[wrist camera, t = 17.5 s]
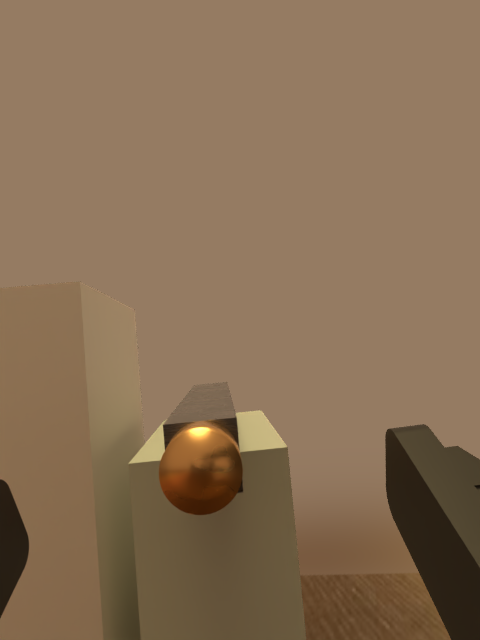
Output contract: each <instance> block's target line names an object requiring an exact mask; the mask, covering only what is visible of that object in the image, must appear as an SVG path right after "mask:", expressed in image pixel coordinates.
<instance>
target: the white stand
mask: <svg viewBox="0 0 480 640" xmlns="http://www.w3.org/2000/svg"><path fill="white" fill-rule="evenodd" d="M144 444H145V441H144V427H143V414H142V401H141V387H140V373H139V359H138V346H137V332H136V319H135V310H134V309H132V308H131V307H129V306H127V305H125V304H123V303H121V302H119V301H117V300H115V299H113V298H111V297H109V296H107V295H105V294H103V293H102V292H100V291H98V290H96V289H94V288H92V287H90V286H88V285H86V284H84V283H82V282H67V283H57V284H56V283H55V284H44V285H31V286H19V287H6V288H0V479H1V480H4V481H5V482H6V483H7V484H8V486H9V488H10V490H11V493H12V495H13V498H14V500H15V503H16V505H17V508H18V510H19V513H20V516H21V518H22V521H23V523H24V526H25V528H26V531H27V534H28V538H29V554H28V559H27V563H26V566H25V568H24V570H23V572H22V574H21V577H20V579H19V581H18V583H17V585H16V587H15V589H14V591H13V593H12V595H11V597H10V599H9V601H8V603H7V605H6V608H5V610H4V612H3V614H2V616H1V618H0V640H141V635H140V621H139V606H138V592H137V578H136V564H135V550H134V536H133V522H132V508H131V494H130V480H129V465H128V463H129V462H130V461H131V460H132V459H133V458H134V456H135V455H136V454H137V453H138V452H139V450H140V449H141V448H142V447H143V446H144Z"/></svg>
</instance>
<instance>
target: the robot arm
mask: <svg viewBox="0 0 480 640" xmlns="http://www.w3.org/2000/svg"><path fill="white" fill-rule="evenodd" d="M386 492H387V498H388V503H389V506H390V510H391V513H392V516H393V519H394V521H395V523H396V525H397V527H398V529H399V531H400V534H401V536H402V538H403V540H404V542H405V544H406V546H407V548H408V550H409V552H410V554H411V556H412V559H413V561H414V562H415V565H416V567H417V569H418V571H419V573H420V575H421V577H422V579H423V581H424V583H425V586H426V588H427V590H428V592H429V594H430V596H431V598H432V600H433V602H434V604H435V606H436V608H437V610H438V613H439V615H440V617H441V619H442V621H443V623H444V625H445V627H446V629H447V631H448V633H449V635H450V638H451V640H480V460H479V459H478V458H476V457H475V456H473V455H471V454H470V453H468V452H466V451H465V450H463V449H462V448H460V447H458V446H454V447H447V448H444V446H443V445H442V444H441V442H440V441H439V440H438V439H437V437H436V436H435V435H434V433H433V432H432V431H431V430H430V429H429V427H428V426H426V425H424V424H423V425H415V426H407V427H399V428H393V429H388V430H387V432H386ZM28 554H29V538H28V534H27V531H26V528H25V526H24V523H23V521H22V518H21V516H20V513H19V510H18V508H17V505H16V503H15V500H14V498H13V495H12V493H11V490H10V488H9V486H8V484H7V483H6V482H5V481H4V480H1V479H0V618H1V616H2V614H3V612H4V610H5V608H6V605H7V603H8V601H9V599H10V597H11V595H12V593H13V591H14V589H15V587H16V585H17V583H18V581H19V579H20V577H21V574H22V572H23V570H24V568H25V566H26V563H27V559H28Z"/></svg>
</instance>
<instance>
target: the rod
mask: <svg viewBox="0 0 480 640" xmlns="http://www.w3.org/2000/svg"><path fill="white" fill-rule="evenodd" d="M163 433H164V446H165V452H164V453H163V456H162V458H161V461H160V465H159V481H160V485H161V488H162V491H163V493H164V495H165V496H166V498H167V499H168V500H169V502H170V503H171V504H172V505H173V506H175V507H176V508H178V509H179V510H181V511H183V512H185V513H188V514H192V515H207V514H212V513H215V512H217V511H219V510H221V509H223V508H224V507H226V506H227V505H228V504H229V503H230V502H231V501H232V500H233V499H234V497H235V496H236V494H237V493H243V482H242V476H243V467H242V461H241V456H240V449H239V438H238V427H237V417H236V413H235V409H234V406H233V402H232V398H231V395H230V391H229V388H228V384H227V382H224V383H213V384H203V385H194V386H193V388H192V389H191V390H190V391H189V393H188V394H187V395H186V396H185V398H184V399H183V400H182V401H181V403H180V404H179V405H178V406H177V408H176V409H175V410H174V412H173V413H172V414H171V415H170V417H169V418H168V419H167V420H166V421H165V423H164V424H163Z"/></svg>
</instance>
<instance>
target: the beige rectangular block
mask: <svg viewBox="0 0 480 640" xmlns="http://www.w3.org/2000/svg"><path fill="white" fill-rule="evenodd" d="M236 417H237V427H238V438H239V449H240V456H241V461H242V467H243V476H242V482H243V493H237V494H236V496H235V497H234V499H233V500H232V501H231V502H230V503H229V504H228V505H227V506H226V507H224V508H223V509H221V510H219V511H217V512H215V513H212V514H207V515H192V514H188V513H185V512H183V511H181V510H179V509H178V508H176V507H175V506H173V505H172V504H171V503H170V502H169V500H168V499H167V498H166V496H165V495H164V493H163V491H162V488H161V485H160V481H159V465H160V461H161V458H162V456H163V453H164V452H165V446H164V433H163V424H164V423H165V421H166V420H164V422H163V423H162V424H161V425H160V426H159V428H158V429H157V430H156V431H155V432H154V434H153V435H152V436H151V437H150V438H149V440H148V441H147V442H146V443H145V444H144V446H143V447H142V448H141V449H140V450H139V452H138V453H137V454H136V455H135V456H134V458H133V459H132V460H131V461H130V462H129V463H128V465H129V480H130V494H131V508H132V522H133V536H134V550H135V564H136V578H137V592H138V606H139V621H140V635H141V640H306V632H305V622H304V612H303V601H302V591H301V581H300V571H299V561H298V551H297V540H296V530H295V519H294V510H293V499H292V489H291V478H290V468H289V458H288V448H287V446H286V445H285V443H284V442H283V440H282V439H281V438H280V436H279V435H278V433H277V432H276V431H275V429H274V428H273V426H272V425H271V424H270V422H269V421H268V420H267V418H266V417H265V415H264V414H263V412H262V411H251V412H241V413H236Z"/></svg>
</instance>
